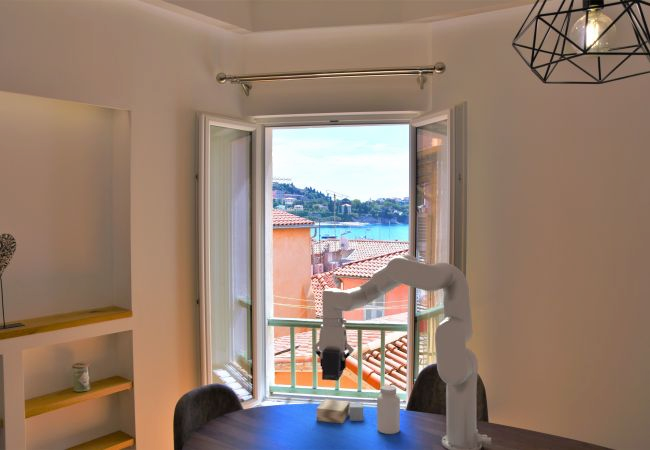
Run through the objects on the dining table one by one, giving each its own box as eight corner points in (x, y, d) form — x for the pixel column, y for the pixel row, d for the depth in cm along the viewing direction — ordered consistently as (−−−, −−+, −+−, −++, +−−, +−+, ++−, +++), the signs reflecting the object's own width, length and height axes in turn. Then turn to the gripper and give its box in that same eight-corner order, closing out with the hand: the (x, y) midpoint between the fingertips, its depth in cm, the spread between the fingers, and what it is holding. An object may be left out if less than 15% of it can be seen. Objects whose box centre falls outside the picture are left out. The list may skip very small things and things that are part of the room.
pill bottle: (397, 436, 175) (397, 392, 175) (374, 433, 177) (374, 389, 177) (402, 427, 182) (401, 385, 182) (379, 424, 185) (379, 382, 185)
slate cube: (363, 415, 194) (362, 402, 194) (363, 420, 189) (363, 407, 189) (349, 415, 194) (349, 402, 194) (349, 420, 189) (349, 407, 189)
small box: (339, 381, 186) (338, 352, 186) (321, 380, 188) (321, 351, 188) (344, 372, 197) (343, 345, 197) (327, 371, 198) (327, 344, 198)
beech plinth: (349, 413, 196) (349, 401, 196) (342, 423, 186) (342, 411, 186) (324, 410, 199) (324, 399, 199) (316, 420, 189) (316, 408, 189)
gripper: (357, 321, 193) (358, 368, 193) (314, 318, 198) (314, 364, 198) (352, 325, 186) (353, 374, 186) (307, 322, 191) (307, 370, 191)
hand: (333, 369), depth 192 cm, fingers closed on small box, 6 cm apart
